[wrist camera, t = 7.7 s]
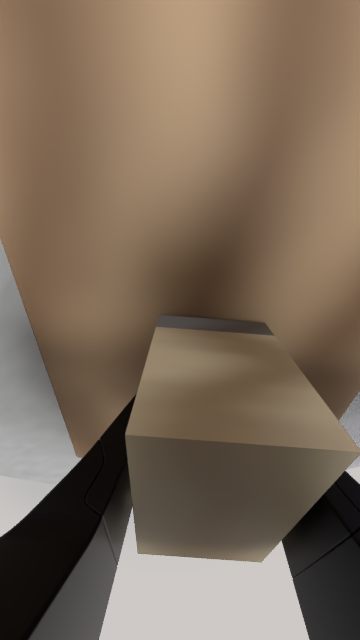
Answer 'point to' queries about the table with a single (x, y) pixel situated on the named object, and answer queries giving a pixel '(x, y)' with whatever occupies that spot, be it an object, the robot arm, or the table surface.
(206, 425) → the block
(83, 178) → the light brown wooden board
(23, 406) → the table surface
